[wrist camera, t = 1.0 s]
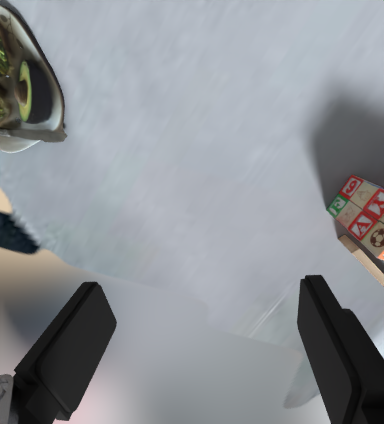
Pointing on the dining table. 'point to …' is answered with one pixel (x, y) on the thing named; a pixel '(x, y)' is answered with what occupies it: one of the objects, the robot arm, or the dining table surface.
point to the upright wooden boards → (362, 258)
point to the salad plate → (26, 89)
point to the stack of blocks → (362, 213)
